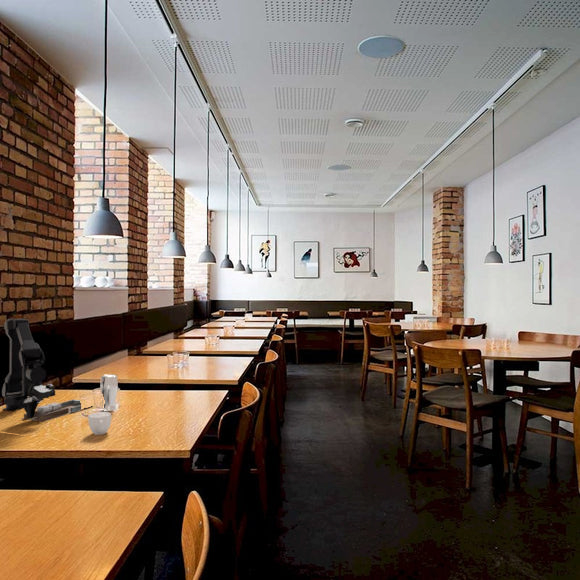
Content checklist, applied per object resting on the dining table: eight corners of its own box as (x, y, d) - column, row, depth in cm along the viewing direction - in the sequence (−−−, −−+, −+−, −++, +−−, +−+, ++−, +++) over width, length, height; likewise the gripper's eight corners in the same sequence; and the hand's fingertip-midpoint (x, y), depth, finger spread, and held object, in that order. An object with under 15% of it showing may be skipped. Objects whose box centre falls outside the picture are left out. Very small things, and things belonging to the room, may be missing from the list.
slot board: (20, 419, 190) (20, 413, 190) (72, 405, 214) (72, 399, 214) (42, 423, 186) (42, 416, 186) (93, 407, 210) (93, 401, 210)
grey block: (46, 414, 197) (46, 404, 197) (54, 412, 200) (54, 402, 200) (53, 415, 195) (53, 405, 195) (61, 413, 199) (61, 403, 199)
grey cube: (36, 417, 193) (36, 407, 193) (45, 414, 196) (45, 405, 196) (44, 418, 191) (43, 408, 191) (52, 415, 195) (52, 406, 195)
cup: (110, 428, 179) (110, 410, 178) (112, 436, 170) (112, 417, 169) (87, 431, 175) (87, 413, 175) (89, 439, 166) (89, 420, 166)
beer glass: (120, 408, 208) (120, 374, 208) (113, 412, 201) (113, 377, 201) (105, 408, 209) (105, 374, 209) (97, 412, 202) (97, 377, 202)
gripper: (24, 384, 176) (24, 426, 176) (65, 376, 193) (65, 414, 193) (3, 382, 180) (3, 423, 180) (45, 374, 198) (45, 411, 198)
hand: (30, 418), depth 188 cm, fingers closed
